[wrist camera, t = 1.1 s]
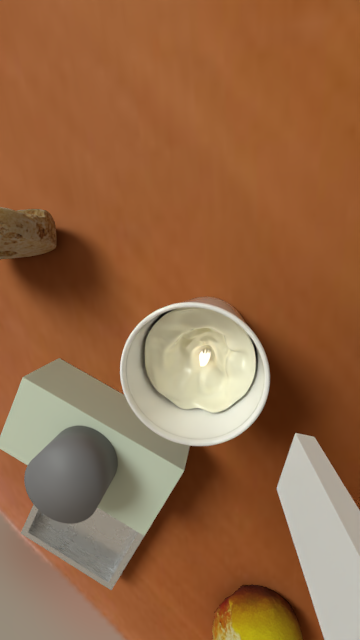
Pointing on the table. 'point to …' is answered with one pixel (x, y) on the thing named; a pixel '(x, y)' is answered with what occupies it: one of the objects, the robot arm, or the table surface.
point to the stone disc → (26, 233)
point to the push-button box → (88, 450)
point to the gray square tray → (86, 543)
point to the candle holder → (195, 372)
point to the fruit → (255, 616)
